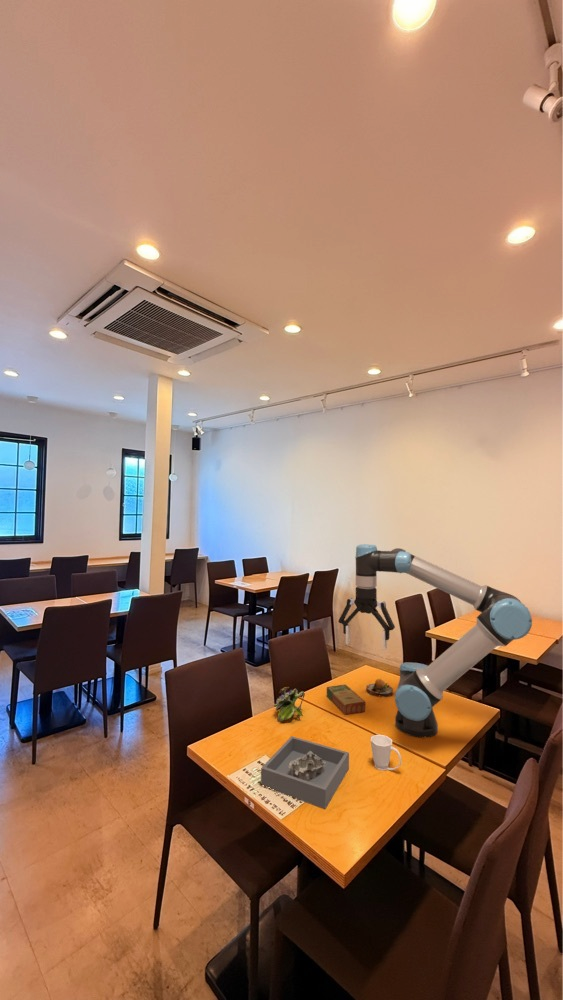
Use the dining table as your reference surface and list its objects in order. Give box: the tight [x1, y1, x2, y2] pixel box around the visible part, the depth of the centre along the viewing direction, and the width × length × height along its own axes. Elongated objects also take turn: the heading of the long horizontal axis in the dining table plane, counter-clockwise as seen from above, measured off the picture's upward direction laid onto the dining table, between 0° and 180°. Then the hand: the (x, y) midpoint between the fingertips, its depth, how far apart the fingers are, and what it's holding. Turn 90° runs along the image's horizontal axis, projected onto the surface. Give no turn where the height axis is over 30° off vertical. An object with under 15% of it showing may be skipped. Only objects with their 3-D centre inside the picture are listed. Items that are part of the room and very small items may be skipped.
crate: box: [260, 735, 350, 810], centre depth 123 cm, size 20×20×5 cm
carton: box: [326, 684, 366, 716], centre depth 172 cm, size 10×18×5 cm, turn 17°
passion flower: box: [273, 686, 306, 722], centre depth 161 cm, size 13×12×14 cm
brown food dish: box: [365, 678, 394, 698], centre depth 185 cm, size 12×12×8 cm
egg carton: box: [289, 751, 326, 782], centre depth 123 cm, size 10×7×4 cm
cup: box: [370, 734, 402, 772], centre depth 128 cm, size 7×10×8 cm
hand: (365, 646), depth 148 cm, fingers open, 13 cm apart
